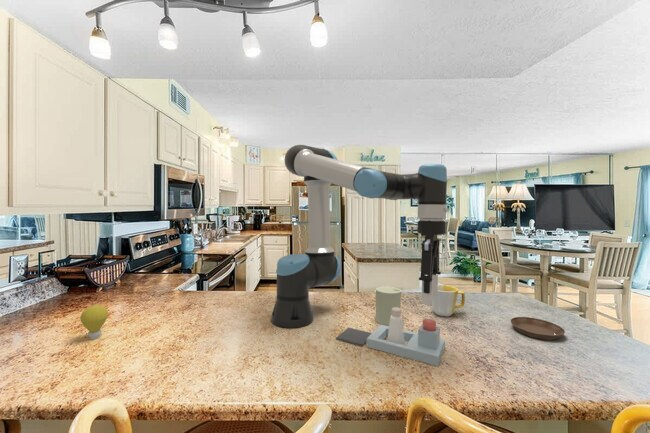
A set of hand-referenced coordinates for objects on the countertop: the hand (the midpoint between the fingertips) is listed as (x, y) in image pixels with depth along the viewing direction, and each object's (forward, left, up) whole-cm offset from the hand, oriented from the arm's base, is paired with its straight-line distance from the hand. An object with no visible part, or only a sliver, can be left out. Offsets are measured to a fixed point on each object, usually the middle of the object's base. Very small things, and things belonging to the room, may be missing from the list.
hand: (429, 300), depth 82 cm
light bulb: (-90, -45, -15) cm, 102 cm away
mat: (-22, -2, -15) cm, 27 cm away
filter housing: (-6, 0, -15) cm, 16 cm away
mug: (+1, +36, -15) cm, 39 cm away
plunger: (0, 0, -8) cm, 8 cm away
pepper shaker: (-9, 0, -15) cm, 18 cm away
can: (-17, +17, -15) cm, 29 cm away
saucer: (+29, +34, -16) cm, 47 cm away
